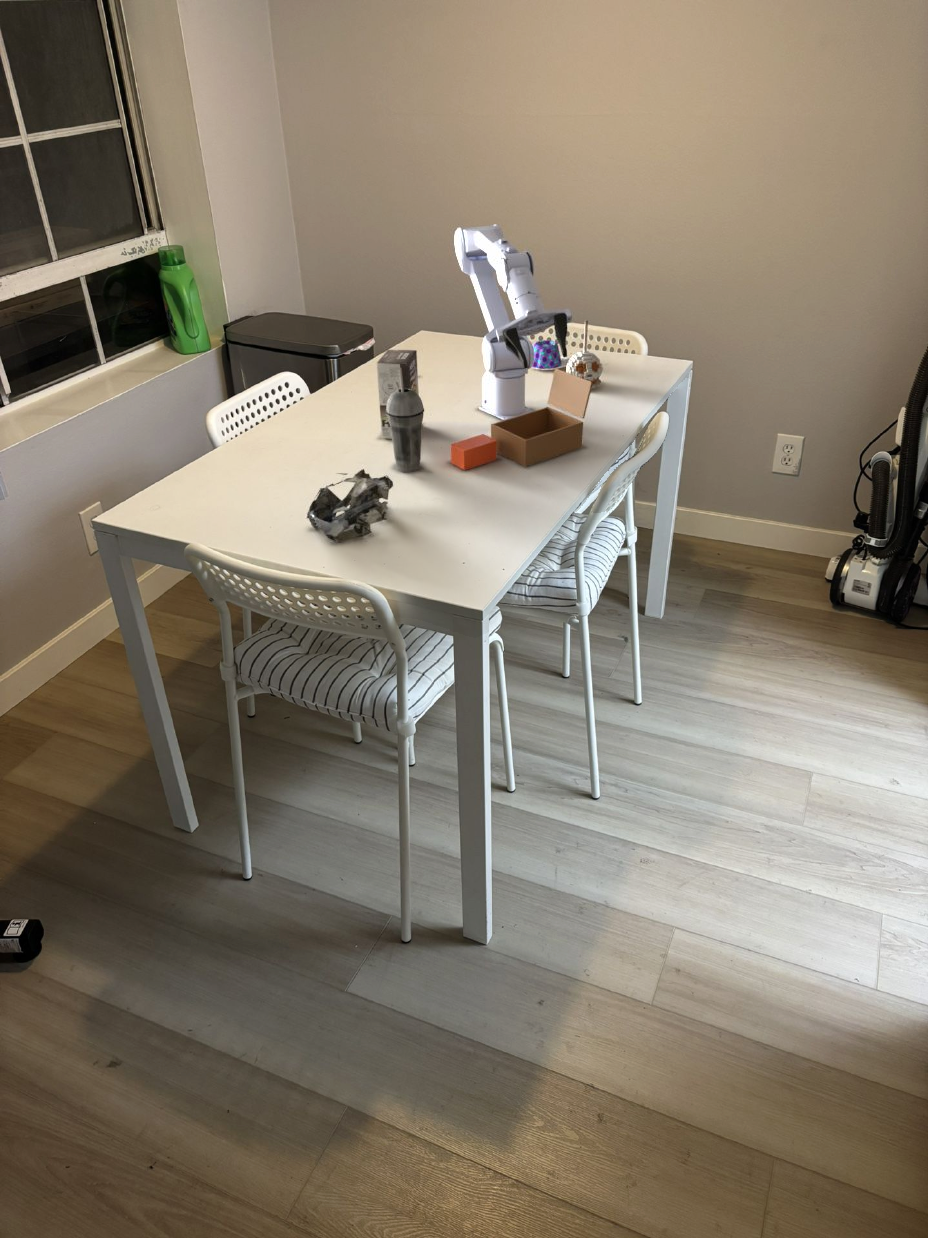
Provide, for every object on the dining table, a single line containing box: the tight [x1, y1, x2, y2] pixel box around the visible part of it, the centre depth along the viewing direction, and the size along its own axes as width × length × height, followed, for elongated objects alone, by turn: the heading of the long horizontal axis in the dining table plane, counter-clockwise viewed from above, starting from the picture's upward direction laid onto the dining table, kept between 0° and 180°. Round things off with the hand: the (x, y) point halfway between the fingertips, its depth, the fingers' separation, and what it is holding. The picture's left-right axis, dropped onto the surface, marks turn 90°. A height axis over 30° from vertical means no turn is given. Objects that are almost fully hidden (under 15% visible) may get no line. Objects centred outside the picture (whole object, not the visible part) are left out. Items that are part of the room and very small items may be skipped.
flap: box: [547, 368, 593, 420], centre depth 190 cm, size 7×11×1 cm
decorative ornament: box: [565, 319, 604, 390], centre depth 217 cm, size 8×8×15 cm
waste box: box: [490, 406, 584, 468], centre depth 190 cm, size 15×11×5 cm
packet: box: [450, 433, 498, 471], centre depth 186 cm, size 4×8×4 cm, turn 127°
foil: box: [306, 468, 394, 544], centre depth 164 cm, size 12×11×15 cm
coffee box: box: [376, 349, 420, 440], centre depth 196 cm, size 9×6×16 cm
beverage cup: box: [386, 368, 425, 473], centre depth 180 cm, size 7×7×20 cm
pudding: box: [530, 339, 570, 371], centre depth 233 cm, size 12×12×5 cm
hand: (545, 359), depth 179 cm, fingers open, 7 cm apart
